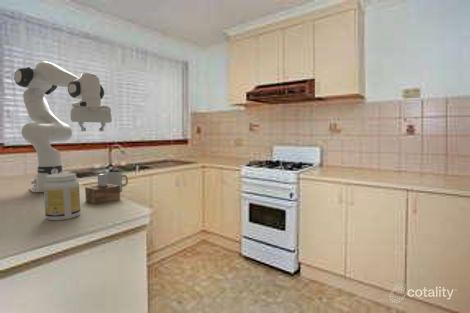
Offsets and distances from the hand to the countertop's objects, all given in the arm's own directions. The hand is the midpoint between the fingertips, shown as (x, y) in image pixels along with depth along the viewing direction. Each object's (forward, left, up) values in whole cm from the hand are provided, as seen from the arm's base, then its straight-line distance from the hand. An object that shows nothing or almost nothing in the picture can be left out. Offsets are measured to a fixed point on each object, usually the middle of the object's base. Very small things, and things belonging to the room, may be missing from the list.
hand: (92, 131), depth 152 cm
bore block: (+15, -4, -34) cm, 37 cm away
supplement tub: (+28, -28, -34) cm, 53 cm away
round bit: (+15, -4, -32) cm, 36 cm away
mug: (+1, +12, -34) cm, 36 cm away
